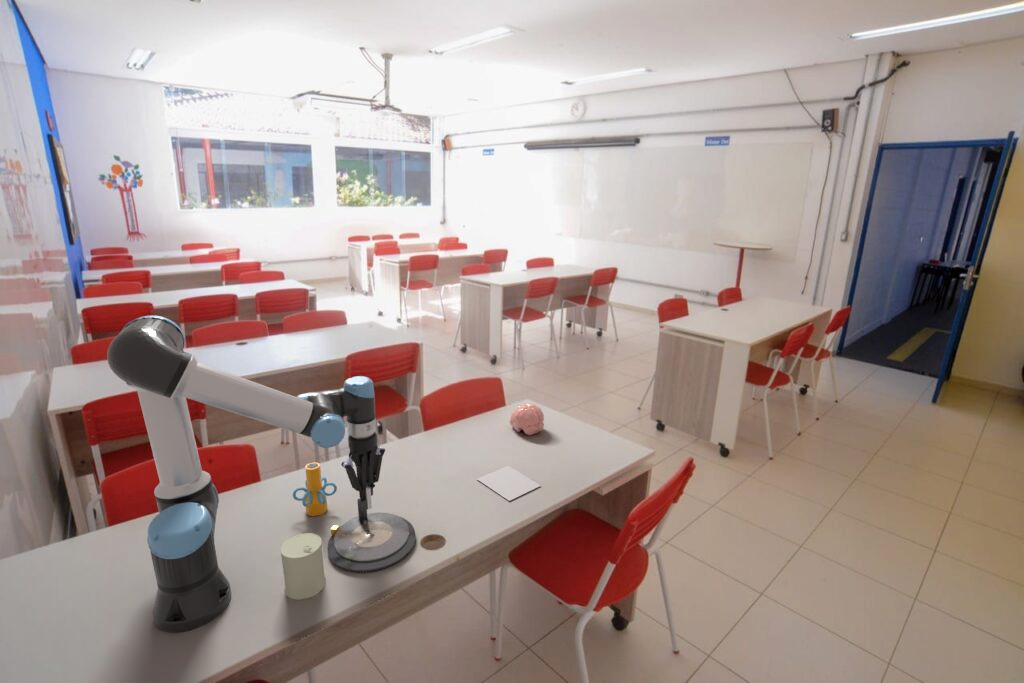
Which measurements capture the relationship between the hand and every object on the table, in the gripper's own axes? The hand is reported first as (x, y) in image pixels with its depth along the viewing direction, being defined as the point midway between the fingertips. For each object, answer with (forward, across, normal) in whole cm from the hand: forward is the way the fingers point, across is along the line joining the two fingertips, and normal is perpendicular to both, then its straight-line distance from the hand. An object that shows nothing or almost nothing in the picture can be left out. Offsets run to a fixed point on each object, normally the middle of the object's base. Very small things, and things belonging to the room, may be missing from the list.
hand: (367, 506), depth 146 cm
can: (+5, -24, -9) cm, 27 cm away
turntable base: (+6, -4, -8) cm, 11 cm away
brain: (+8, +80, +4) cm, 80 cm away
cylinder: (+6, -6, +17) cm, 19 cm away
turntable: (+4, -4, -8) cm, 10 cm away
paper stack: (+7, +40, -12) cm, 42 cm away
